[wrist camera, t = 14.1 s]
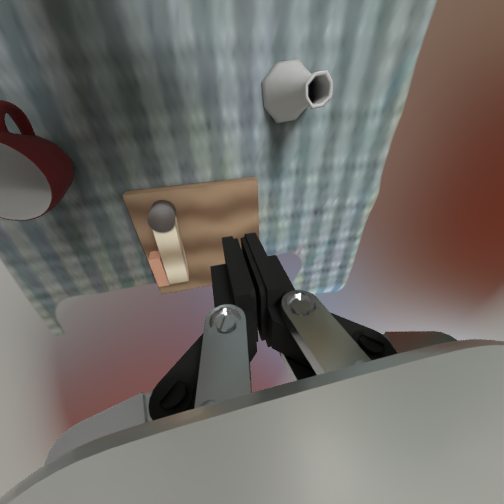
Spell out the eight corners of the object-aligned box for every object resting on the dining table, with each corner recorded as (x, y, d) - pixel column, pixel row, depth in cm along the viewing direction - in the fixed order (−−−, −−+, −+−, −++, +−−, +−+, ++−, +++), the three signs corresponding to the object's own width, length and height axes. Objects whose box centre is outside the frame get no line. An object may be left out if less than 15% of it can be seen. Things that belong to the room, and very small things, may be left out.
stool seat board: (125, 191, 33) (122, 195, 32) (254, 176, 36) (257, 180, 35) (162, 287, 45) (161, 294, 43) (258, 270, 48) (260, 276, 46)
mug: (-20, 102, 25) (-121, 103, 17) (60, 98, 26) (1, 97, 18) (37, 193, 31) (-17, 226, 23) (99, 186, 32) (68, 215, 24)
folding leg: (148, 201, 33) (143, 210, 30) (173, 198, 33) (171, 207, 30) (169, 272, 40) (168, 285, 38) (189, 269, 41) (189, 282, 38)
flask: (273, 132, 33) (299, 142, 25) (252, 77, 29) (275, 68, 21) (316, 106, 33) (357, 108, 25) (301, 46, 28) (344, 24, 20)
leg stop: (150, 251, 37) (148, 259, 35) (161, 250, 38) (159, 258, 36) (160, 278, 41) (158, 287, 39) (170, 276, 41) (169, 285, 39)
